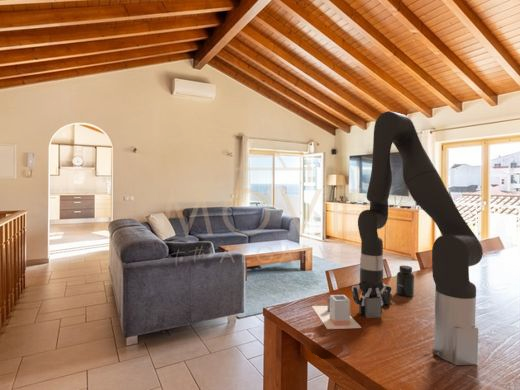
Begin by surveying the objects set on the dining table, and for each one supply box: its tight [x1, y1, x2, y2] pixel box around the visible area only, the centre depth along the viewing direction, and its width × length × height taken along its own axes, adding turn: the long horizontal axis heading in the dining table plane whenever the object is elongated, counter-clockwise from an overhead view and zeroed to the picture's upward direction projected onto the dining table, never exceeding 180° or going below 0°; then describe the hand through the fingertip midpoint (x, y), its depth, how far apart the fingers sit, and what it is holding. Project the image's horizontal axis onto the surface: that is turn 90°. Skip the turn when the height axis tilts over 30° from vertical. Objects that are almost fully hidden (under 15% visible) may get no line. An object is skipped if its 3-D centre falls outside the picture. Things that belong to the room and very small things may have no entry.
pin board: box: [311, 296, 362, 330], centre depth 103 cm, size 18×11×6 cm, turn 6°
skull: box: [380, 283, 396, 309], centre depth 120 cm, size 12×10×10 cm
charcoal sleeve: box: [363, 295, 382, 319], centre depth 104 cm, size 5×5×8 cm
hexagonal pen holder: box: [329, 294, 351, 326], centre depth 98 cm, size 5×5×8 cm
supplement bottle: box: [395, 265, 415, 298], centre depth 129 cm, size 7×7×12 cm
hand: (370, 315), depth 104 cm, fingers closed on charcoal sleeve, 5 cm apart
